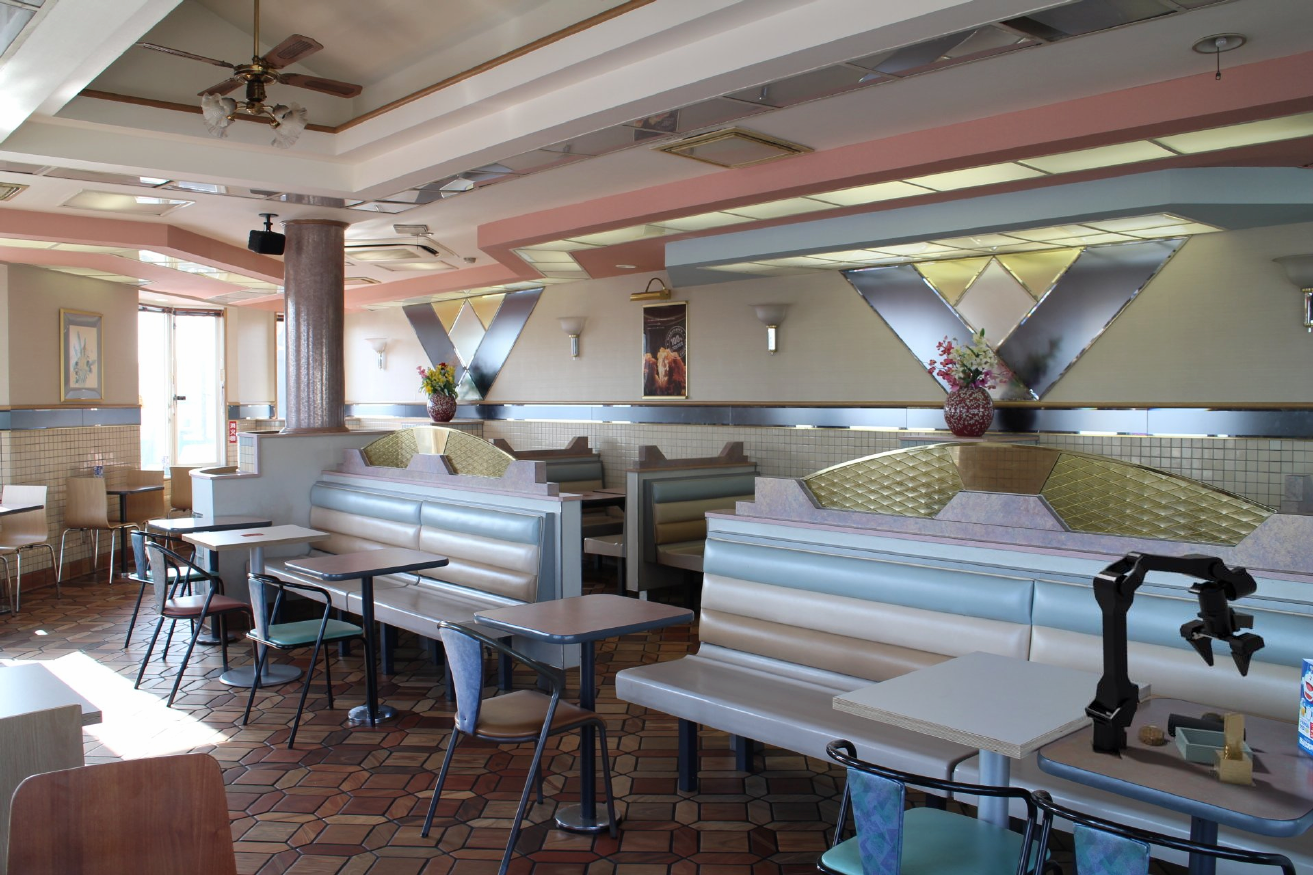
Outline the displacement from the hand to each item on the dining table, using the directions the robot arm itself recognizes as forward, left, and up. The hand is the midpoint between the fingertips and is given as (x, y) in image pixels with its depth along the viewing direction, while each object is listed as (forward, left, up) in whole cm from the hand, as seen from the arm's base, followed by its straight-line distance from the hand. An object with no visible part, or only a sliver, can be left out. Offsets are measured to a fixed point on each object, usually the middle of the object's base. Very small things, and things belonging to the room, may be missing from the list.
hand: (1227, 670), depth 220 cm
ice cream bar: (-16, -7, -17) cm, 25 cm away
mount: (-5, -30, -16) cm, 35 cm away
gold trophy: (-5, -30, -15) cm, 34 cm away
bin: (-6, -16, -16) cm, 24 cm away
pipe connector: (-3, 0, -17) cm, 17 cm away
